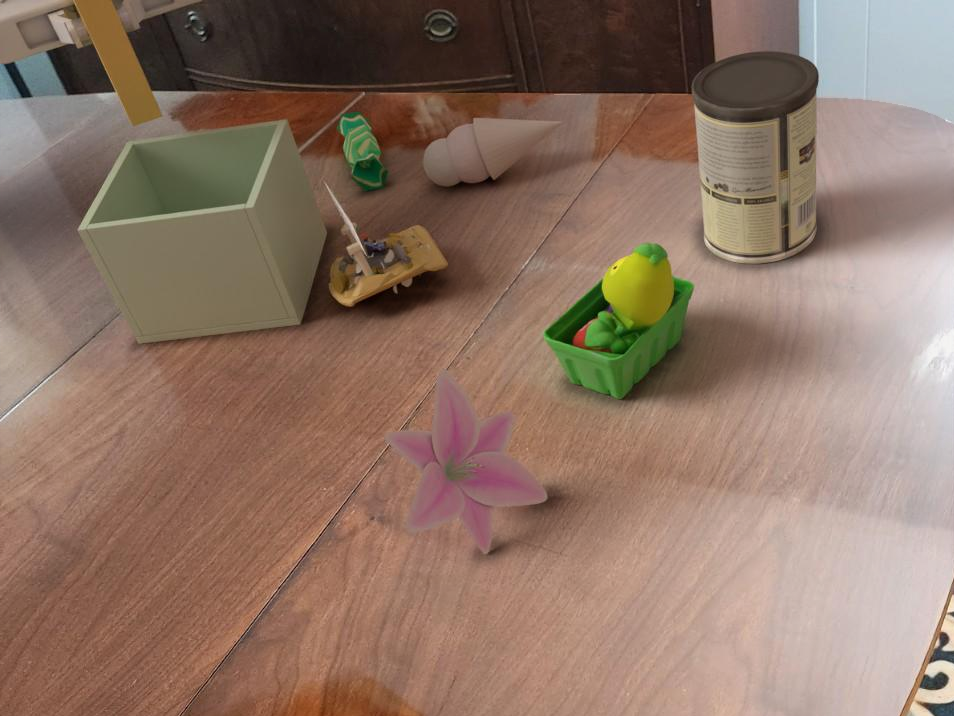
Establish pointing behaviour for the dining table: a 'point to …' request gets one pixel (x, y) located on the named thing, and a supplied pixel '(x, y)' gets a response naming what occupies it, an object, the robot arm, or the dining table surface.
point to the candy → (362, 151)
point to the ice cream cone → (482, 149)
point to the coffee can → (757, 155)
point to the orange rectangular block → (119, 59)
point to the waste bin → (207, 232)
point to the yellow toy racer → (380, 261)
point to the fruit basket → (622, 323)
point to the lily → (463, 466)
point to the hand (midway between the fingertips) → (105, 29)
